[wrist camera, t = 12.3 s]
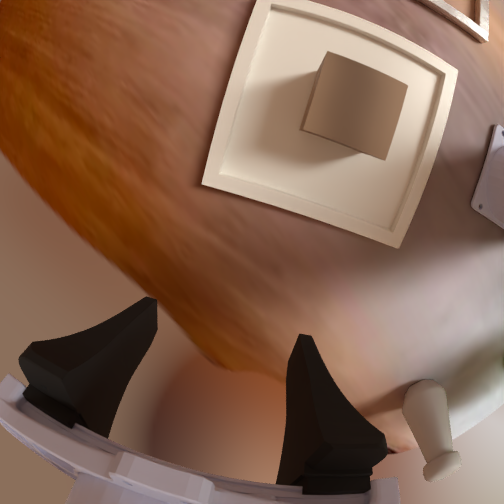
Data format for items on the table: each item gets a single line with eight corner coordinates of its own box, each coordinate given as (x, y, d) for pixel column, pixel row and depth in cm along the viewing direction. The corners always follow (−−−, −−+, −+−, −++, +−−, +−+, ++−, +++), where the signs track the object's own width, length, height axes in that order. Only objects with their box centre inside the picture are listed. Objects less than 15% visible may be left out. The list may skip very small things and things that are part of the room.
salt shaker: (393, 390, 27) (413, 484, 15) (434, 367, 25) (468, 458, 13) (406, 407, 28) (424, 489, 17) (443, 387, 26) (470, 467, 15)
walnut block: (379, 94, 15) (408, 85, 11) (361, 152, 17) (385, 160, 13) (317, 70, 15) (327, 50, 11) (299, 130, 17) (303, 129, 13)
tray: (450, 72, 14) (458, 70, 12) (393, 242, 20) (398, 249, 19) (262, -3, 13) (260, -10, 12) (206, 181, 20) (201, 184, 19)
